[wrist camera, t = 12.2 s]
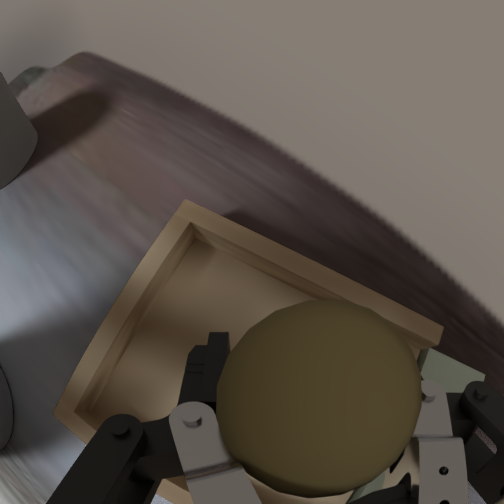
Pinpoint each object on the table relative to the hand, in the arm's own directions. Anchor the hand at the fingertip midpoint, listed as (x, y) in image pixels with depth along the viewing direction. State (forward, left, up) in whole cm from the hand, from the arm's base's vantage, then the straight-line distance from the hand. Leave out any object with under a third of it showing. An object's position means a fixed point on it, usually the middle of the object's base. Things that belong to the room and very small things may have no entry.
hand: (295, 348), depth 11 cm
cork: (-2, -1, -5) cm, 6 cm away
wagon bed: (-2, +1, -8) cm, 8 cm away
